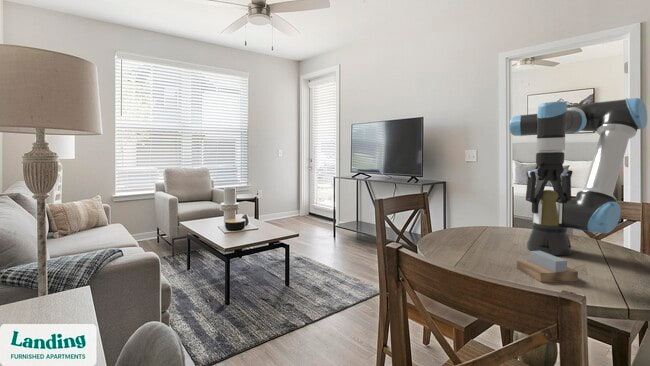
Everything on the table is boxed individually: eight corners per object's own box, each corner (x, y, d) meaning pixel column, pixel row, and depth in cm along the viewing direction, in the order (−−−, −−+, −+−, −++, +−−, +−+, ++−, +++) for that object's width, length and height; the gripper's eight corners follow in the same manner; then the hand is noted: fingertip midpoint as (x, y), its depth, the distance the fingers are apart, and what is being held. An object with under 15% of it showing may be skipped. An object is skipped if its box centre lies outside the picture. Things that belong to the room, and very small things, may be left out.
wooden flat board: (549, 269, 115) (550, 259, 115) (577, 282, 104) (578, 271, 103) (516, 270, 115) (516, 260, 115) (540, 284, 103) (540, 273, 103)
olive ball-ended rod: (550, 226, 103) (552, 191, 102) (531, 222, 109) (533, 189, 108) (562, 224, 106) (564, 190, 105) (543, 221, 111) (545, 188, 110)
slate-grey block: (539, 260, 114) (540, 250, 114) (566, 271, 104) (567, 260, 103) (529, 261, 114) (529, 251, 114) (555, 272, 103) (555, 261, 103)
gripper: (570, 151, 109) (566, 219, 111) (513, 152, 109) (511, 221, 111) (588, 150, 102) (585, 224, 104) (528, 152, 101) (525, 226, 103)
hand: (547, 222), depth 107 cm, fingers closed on olive ball-ended rod, 6 cm apart
